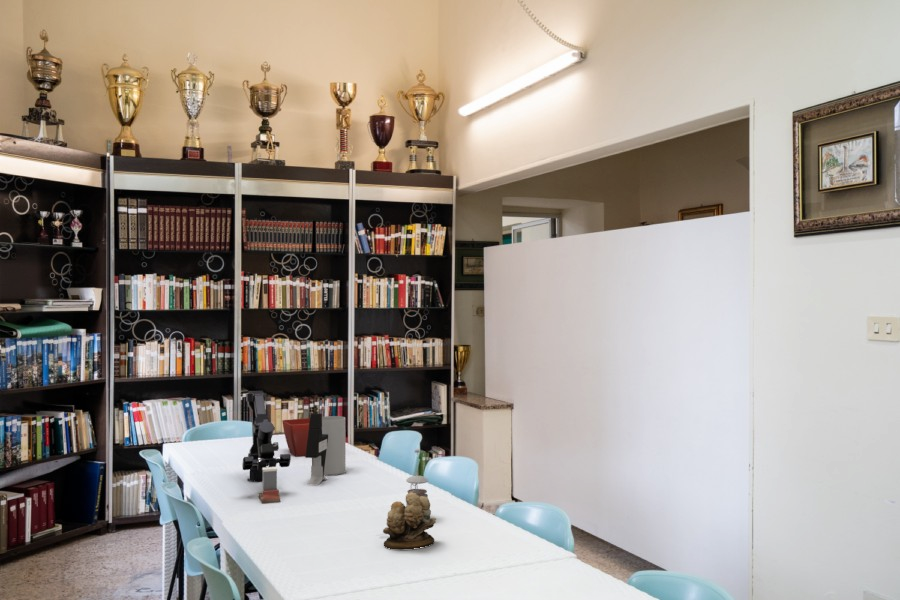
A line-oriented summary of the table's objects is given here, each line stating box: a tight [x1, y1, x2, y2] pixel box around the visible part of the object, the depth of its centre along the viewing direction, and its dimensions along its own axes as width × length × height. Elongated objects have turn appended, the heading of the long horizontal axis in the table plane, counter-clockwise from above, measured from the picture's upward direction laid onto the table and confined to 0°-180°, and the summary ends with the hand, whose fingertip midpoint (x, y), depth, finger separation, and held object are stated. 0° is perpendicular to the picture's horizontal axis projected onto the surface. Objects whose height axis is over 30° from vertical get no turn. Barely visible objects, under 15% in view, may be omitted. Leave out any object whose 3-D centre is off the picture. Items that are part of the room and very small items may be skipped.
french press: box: [405, 448, 429, 507], centre depth 292 cm, size 10×12×25 cm
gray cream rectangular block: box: [262, 466, 278, 492], centre depth 316 cm, size 4×5×11 cm
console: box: [258, 489, 281, 504], centre depth 317 cm, size 11×7×4 cm, turn 21°
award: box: [304, 412, 328, 486], centre depth 347 cm, size 15×5×30 cm, turn 168°
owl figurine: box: [382, 492, 437, 550], centre depth 260 cm, size 18×12×17 cm, turn 116°
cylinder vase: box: [322, 415, 346, 476], centre depth 366 cm, size 12×12×25 cm
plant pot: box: [281, 417, 310, 457], centre depth 411 cm, size 19×19×17 cm
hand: (268, 479), depth 319 cm, fingers closed
